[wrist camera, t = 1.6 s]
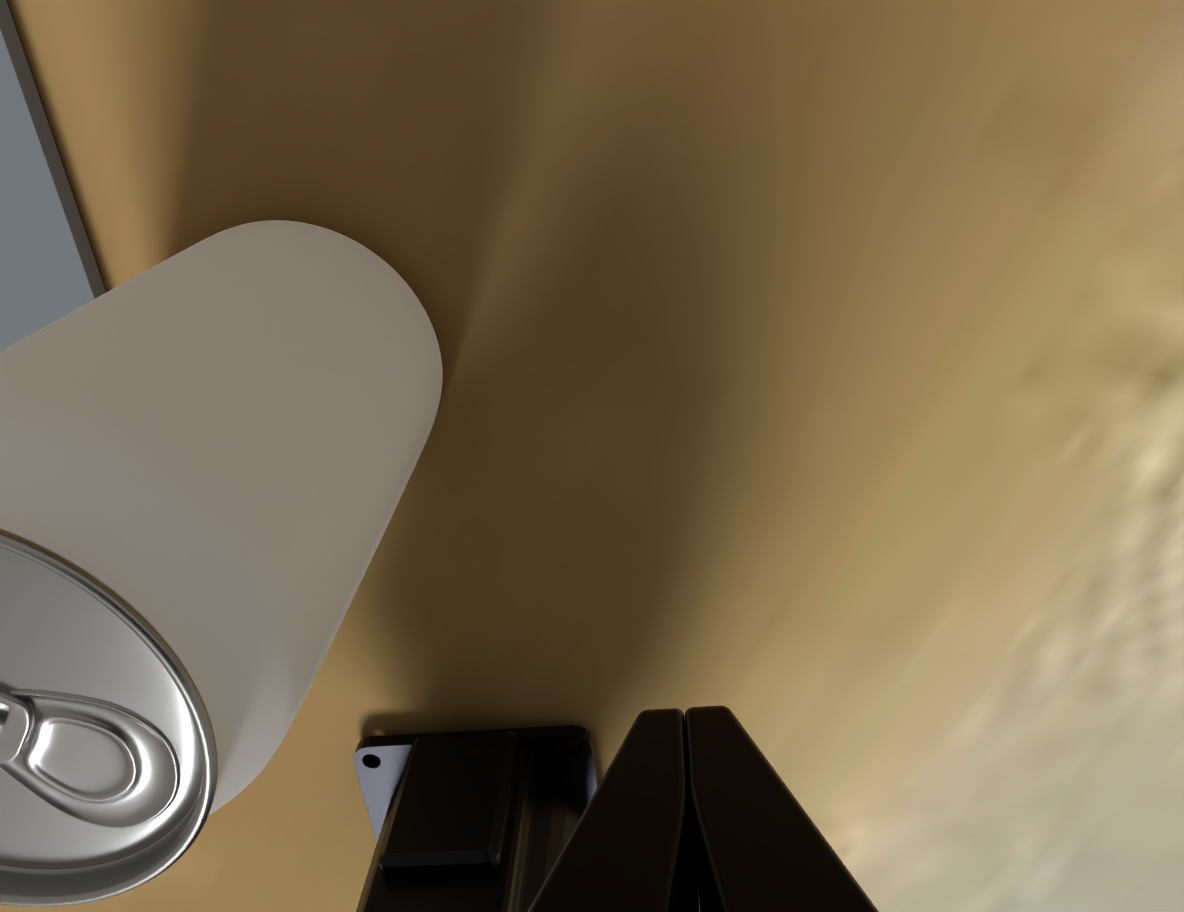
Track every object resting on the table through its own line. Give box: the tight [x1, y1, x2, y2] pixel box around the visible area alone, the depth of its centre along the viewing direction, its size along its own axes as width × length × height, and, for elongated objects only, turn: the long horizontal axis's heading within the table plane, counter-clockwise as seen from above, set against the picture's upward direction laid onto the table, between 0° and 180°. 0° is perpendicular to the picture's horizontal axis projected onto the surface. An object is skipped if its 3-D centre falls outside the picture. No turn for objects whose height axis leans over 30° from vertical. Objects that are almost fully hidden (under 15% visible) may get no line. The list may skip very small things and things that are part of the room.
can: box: [0, 220, 443, 907], centre depth 16 cm, size 6×6×12 cm
